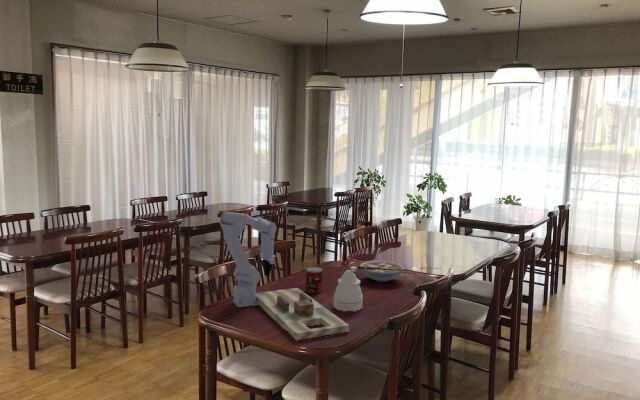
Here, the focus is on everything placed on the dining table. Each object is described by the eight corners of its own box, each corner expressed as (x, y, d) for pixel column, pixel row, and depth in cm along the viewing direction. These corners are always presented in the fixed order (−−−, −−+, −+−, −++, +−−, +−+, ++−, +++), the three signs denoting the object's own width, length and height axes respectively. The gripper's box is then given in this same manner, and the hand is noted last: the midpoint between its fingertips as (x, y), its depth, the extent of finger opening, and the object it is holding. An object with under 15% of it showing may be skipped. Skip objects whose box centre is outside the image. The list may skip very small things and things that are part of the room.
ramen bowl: (404, 275, 282) (404, 260, 280) (406, 287, 259) (407, 272, 258) (358, 272, 284) (358, 258, 283) (356, 285, 261) (357, 269, 260)
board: (296, 341, 191) (296, 324, 190) (253, 299, 236) (253, 285, 235) (348, 332, 201) (349, 316, 200) (297, 293, 245) (297, 280, 245)
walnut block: (299, 316, 208) (300, 305, 208) (294, 311, 214) (294, 301, 213) (313, 314, 211) (313, 303, 210) (307, 309, 216) (307, 299, 215)
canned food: (302, 292, 248) (303, 269, 247) (310, 287, 256) (311, 266, 254) (316, 294, 245) (317, 272, 243) (324, 290, 252) (325, 268, 250)
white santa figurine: (360, 301, 237) (362, 263, 234) (363, 311, 224) (365, 271, 222) (332, 301, 236) (333, 263, 234) (334, 311, 224) (335, 271, 221)
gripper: (281, 249, 235) (280, 278, 237) (270, 243, 248) (269, 270, 250) (266, 251, 232) (266, 280, 234) (255, 244, 245) (255, 272, 247)
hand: (267, 275), depth 242 cm, fingers closed
